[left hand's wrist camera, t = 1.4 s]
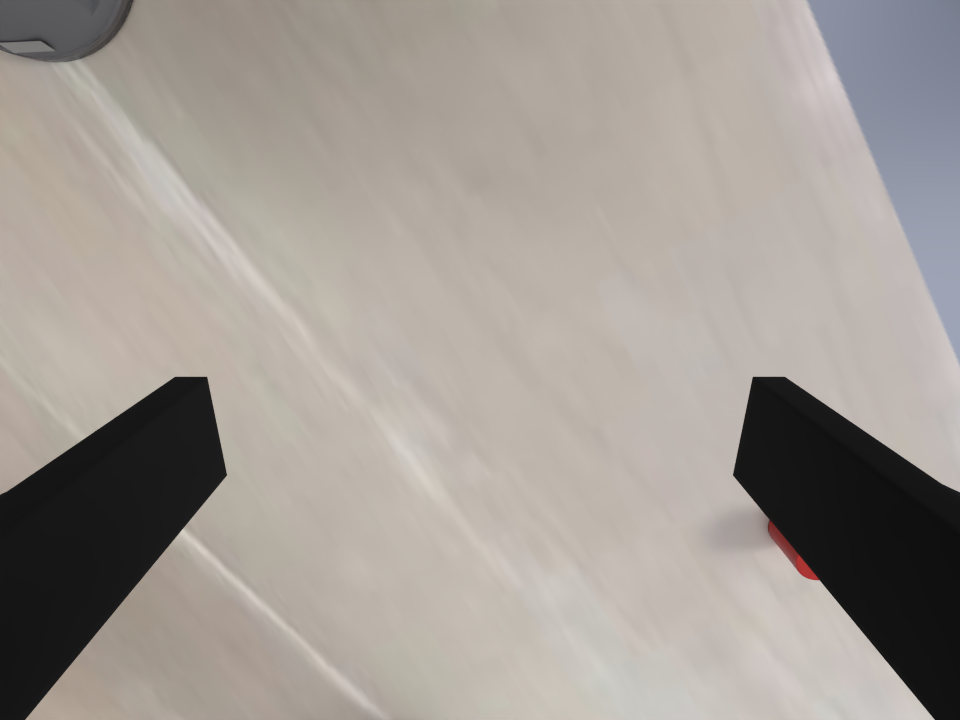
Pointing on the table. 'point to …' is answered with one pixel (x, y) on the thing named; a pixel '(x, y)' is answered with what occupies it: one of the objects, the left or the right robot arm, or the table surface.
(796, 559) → the red cylinder
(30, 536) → the left robot arm
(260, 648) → the table surface
